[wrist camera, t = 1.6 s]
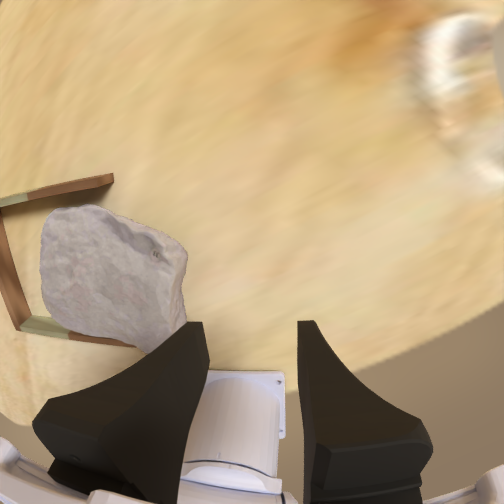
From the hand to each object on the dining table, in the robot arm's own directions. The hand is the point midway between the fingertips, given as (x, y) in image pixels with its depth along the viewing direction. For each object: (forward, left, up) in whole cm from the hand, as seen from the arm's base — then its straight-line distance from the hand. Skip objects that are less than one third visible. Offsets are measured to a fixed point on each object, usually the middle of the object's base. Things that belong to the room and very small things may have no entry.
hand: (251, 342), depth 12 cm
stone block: (0, +11, -10) cm, 15 cm away
